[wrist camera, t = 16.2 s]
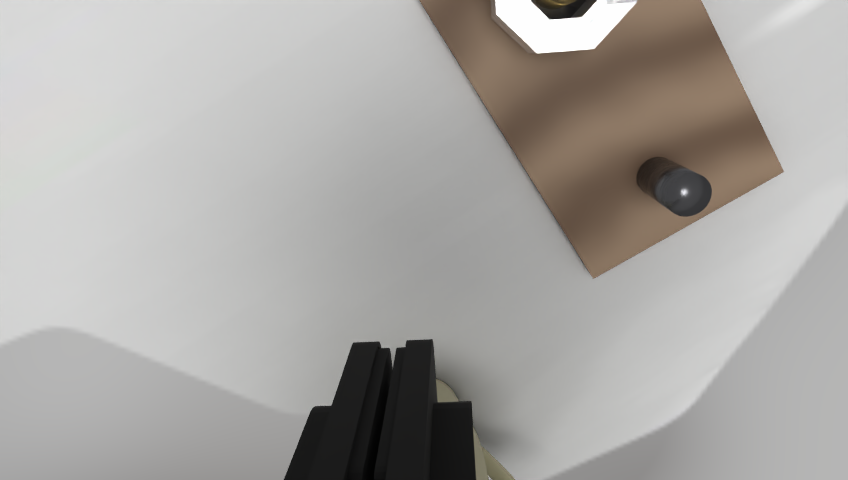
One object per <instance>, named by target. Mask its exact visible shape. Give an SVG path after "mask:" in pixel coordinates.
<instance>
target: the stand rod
mask: <svg viewBox="0 0 848 480" xmlns="http://www.w3.org/2000/svg"><path fill="white" fill-rule="evenodd" d="M636 180H637V184H638V186H639V188H640V189H641V190H642V191H643V192H644V193H646V194H647V195H649V196H650V197H651V198H653V199H654V200H656V201H657V202H658V203H660V204H661V205H663V206H664V207H665V208H667V209H668V210H670V211H671V212H673V213H674V214H676V215H678V216H683V217H688V216H693V215H696V214H698V213H700V212H701V211H702V210H704V209H705V208H706V206H707V205H708V203H709V202H710V199H711V196H712V188H711V185H710V183H709V181H708V180H707V179H706V178H705V177H704V176H702V175H700V174H698V173H696V172H694V171H692V170H690V169H688V168H686V167H683V166H681V165H679V164H677V163H675V162H673V161H671V160H669V159H667V158H664V157H654V158H651V159H648V160H647V161H645V162H644V163H643V164H642V165H641V166H640V168H639V170H638V172H637V177H636Z"/></svg>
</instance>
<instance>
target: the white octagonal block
mask: <svg viewBox="0 0 848 480" xmlns="http://www.w3.org/2000/svg"><path fill="white" fill-rule="evenodd" d="M636 3H637V0H586V1H585V2H584V4H583V5H582V6H581V7H580V8H579V9H578V10H577V11H576V12H575V14H574V15H573V16H572V17H571V18H569V19H557V20H549V19H548V18H547V17H546V16H545V15H544V14H543V13H542V12H541V11H540V10H539V9H538V8H537V7H536V6H535V5H534V4H533V3H532V2H531V1H530V0H491V18H492V19H493V20H494V21H495V22H496V23H497V24H498V25H499V26H500V27H501V28H502V29H503V30H504V31H505V32H506V33H507V34H508V35H509V36H510V37H511V38H512V39H513V40H514V41H515V42H517V43H518V44H519V45H520V46H521V47H522V48H523V49H524V50H525V51H526V52H527V53H545V52H558V51H571V50H584V49H594V48H595V47H596V46H597V45H598V44H599V43H600V42H601V41H602V40H603V38H604V37H605V36H606V35H607V34H608V33H609V32H610V31H611V30H612V29H613V28H614V27H615V25H616V24H617V23H618V22H619V21H620V20H621V19H622V18H623V17H624V16H625V15H626V14H627V12H628V11H629V10H630V9H631V8H632V7H633V6H634V5H635V4H636Z"/></svg>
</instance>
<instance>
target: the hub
mask: <svg viewBox="0 0 848 480" xmlns="http://www.w3.org/2000/svg"><path fill="white" fill-rule="evenodd" d="M530 1H531V2H532V3H533V4H534V5H535V6H536V7H537V8H538V9H539V10H540V11H541V12H542V13H543V14H544V15H545V16H546V17H547V18H548V19H549V20H557V19H569V18H571V17H572V16H573V15H574V14H575V12H576V11H577V10H578V9H579V8H580V7H581V6H582V5H583V4H584V2H585V1H586V0H530Z"/></svg>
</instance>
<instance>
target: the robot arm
mask: <svg viewBox="0 0 848 480" xmlns="http://www.w3.org/2000/svg"><path fill="white" fill-rule="evenodd" d="M284 480H476V468H475V452H474V435H473V419H472V403H471V401H461V402H438V400H437V386H436V373H435V360H434V347H433V340H432V339H430V340H407V341H406V347H402V348H397V349H396V354H395V360H394V365H393V370H392V360H391V352H390V349H389V348H381V344H380V342H357V343H353V344H352V347H351V350H350V353H349V356H348V359H347V362H346V365H345V367H344V370H343V373H342V376H341V379H340V382H339V385H338V388H337V391H336V394H335V397H334V400H333V403H332V406H315V407H314V408H312V410H311V412H310V414H309V417H308V419H307V422H306V425H305V427H304V430H303V432H302V435H301V437H300V440H299V442H298V445H297V448H296V450H295V453H294V455H293V458H292V460H291V463H290V466H289V468H288V471H287V473H286V476H285V479H284Z"/></svg>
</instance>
